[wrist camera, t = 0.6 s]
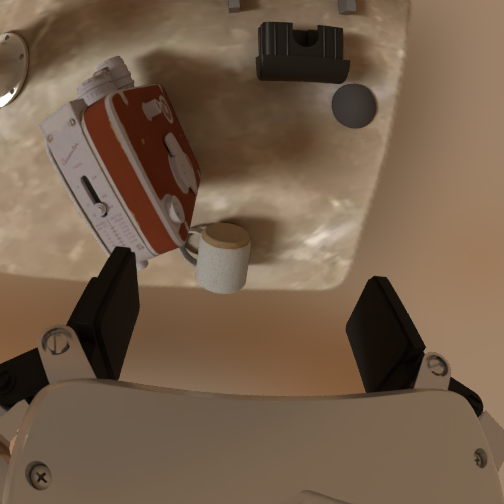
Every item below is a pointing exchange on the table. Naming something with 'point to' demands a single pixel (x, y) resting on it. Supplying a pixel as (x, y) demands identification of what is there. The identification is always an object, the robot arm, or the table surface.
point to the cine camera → (125, 163)
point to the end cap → (301, 54)
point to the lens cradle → (345, 4)
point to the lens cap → (354, 106)
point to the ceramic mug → (220, 257)
